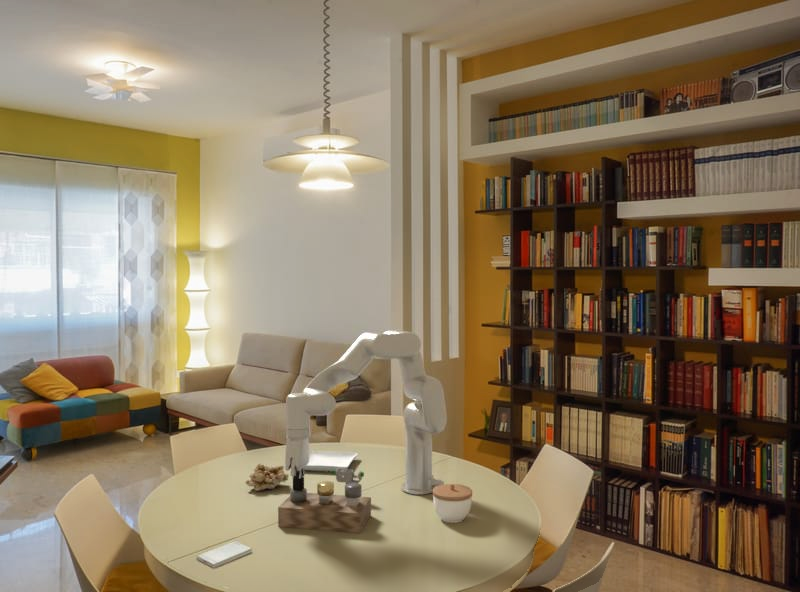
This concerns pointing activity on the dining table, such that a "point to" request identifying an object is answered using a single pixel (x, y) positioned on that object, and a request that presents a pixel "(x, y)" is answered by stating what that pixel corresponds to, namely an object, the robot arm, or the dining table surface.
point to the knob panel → (325, 514)
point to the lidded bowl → (452, 502)
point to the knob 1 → (298, 495)
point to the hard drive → (224, 554)
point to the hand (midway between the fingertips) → (298, 489)
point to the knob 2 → (353, 494)
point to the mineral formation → (266, 477)
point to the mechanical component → (348, 476)
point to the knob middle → (325, 492)
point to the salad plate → (329, 460)
